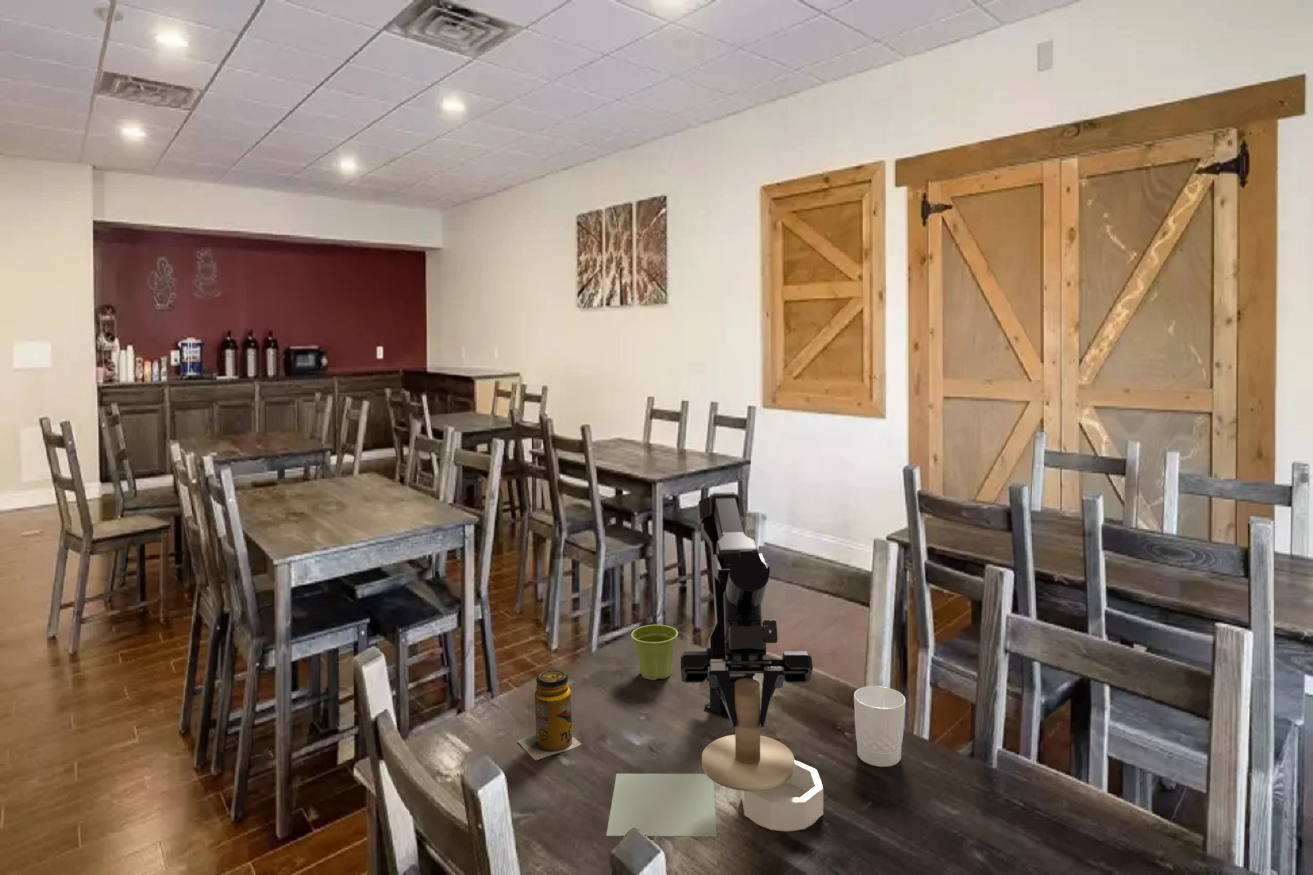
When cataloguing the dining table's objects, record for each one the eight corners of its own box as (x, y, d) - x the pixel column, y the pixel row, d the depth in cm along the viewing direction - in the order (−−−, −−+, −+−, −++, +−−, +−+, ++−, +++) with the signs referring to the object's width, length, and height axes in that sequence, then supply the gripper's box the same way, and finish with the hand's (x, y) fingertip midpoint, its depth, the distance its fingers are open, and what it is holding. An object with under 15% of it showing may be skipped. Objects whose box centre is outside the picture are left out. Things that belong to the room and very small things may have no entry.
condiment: (582, 745, 129) (579, 677, 127) (535, 761, 124) (532, 691, 123) (562, 727, 135) (559, 662, 133) (517, 742, 130) (514, 675, 129)
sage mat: (616, 775, 120) (616, 773, 120) (713, 775, 119) (713, 773, 119) (606, 837, 105) (606, 835, 105) (716, 838, 104) (716, 836, 104)
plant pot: (664, 688, 149) (663, 645, 148) (623, 678, 154) (622, 637, 153) (687, 670, 157) (686, 629, 156) (647, 661, 162) (646, 621, 161)
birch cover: (721, 733, 118) (720, 658, 116) (805, 751, 112) (805, 673, 110) (687, 777, 106) (685, 695, 104) (779, 800, 100) (778, 713, 99)
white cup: (907, 748, 125) (908, 690, 124) (900, 774, 118) (902, 712, 117) (858, 739, 129) (858, 682, 127) (849, 763, 122) (849, 703, 120)
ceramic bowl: (773, 777, 118) (773, 750, 118) (835, 807, 110) (836, 778, 110) (726, 809, 110) (726, 780, 110) (790, 844, 103) (790, 812, 102)
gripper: (679, 598, 110) (679, 708, 101) (811, 597, 109) (823, 708, 100) (682, 630, 119) (681, 733, 110) (803, 629, 118) (813, 734, 109)
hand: (748, 727), depth 107 cm, fingers closed on birch cover, 3 cm apart
